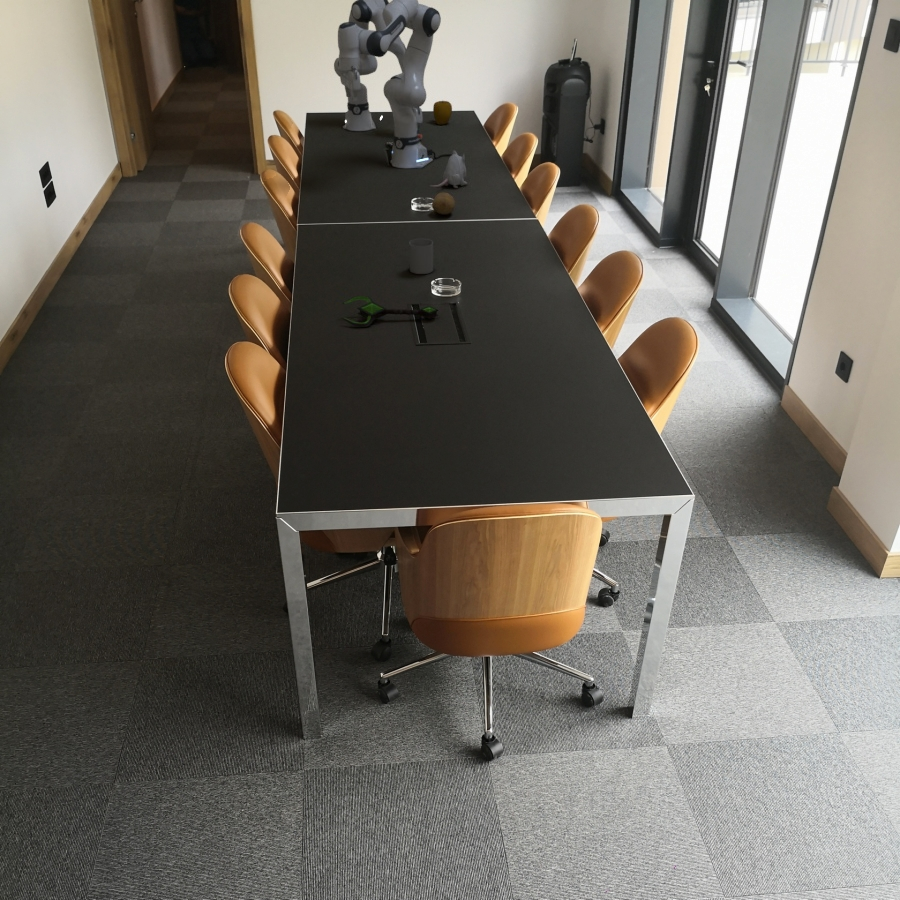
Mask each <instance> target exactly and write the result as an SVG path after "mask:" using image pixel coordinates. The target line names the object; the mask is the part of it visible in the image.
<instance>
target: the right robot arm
mask: <svg viewBox="0 0 900 900" xmlns="http://www.w3.org/2000/svg"><path fill="white" fill-rule="evenodd" d="M382 17H383V21H384V24H385V25H386V28H385V29H384V30H382V31H376V30H372V29H369V30H365V29H362V28H360V27H358V26H357V25H356V23H355V22H349V21H345V22H342V23H340V24H339V26H338V28H337V48H338V50H339V51H338V52H339V53H338V58H339V61H338V67H339V72H340V77H339V79H340V83H341V85H343V86H344V90H345V97H347V98H348V97H351V93H350V90H352V101H357V93H358V92H357V91H360V90H361V83H362V82H361V76H360V74H359V72H357V70H359V69H360V56H359V53H360V54H366V55H373V56H375V57H377V58H382V57H384V56H385V55H386V54H387V53H388V52H389V51H388V49H389V47H390V46H391V44H392V43H393V42H394V41H395V40H396V39H397V38H398V36H401V34H402V33H403V32H404V31H405V29H409V30H412V34H411V35H410V37H409V40H408V42H407V46H406V51H405V55H404V58H403V61H402V66H403V68H404V79H403V80H402V79H391V78H389V79H388V80H387V81H386V82H385V83H384V85H383V95H384V98H386V100H387V102H388V104H389V106H390V110H391V113H392V119H393V133H394V134H393V138H392V140H393V145H392V148H391V150H392V151H391V160H390V161H389V162H390V164H391V166H392V167H394V168H398V169H416V168H417V169H421V168H424V167H426V166H427V165H428V164H430V163H432V162H433V159H435V160H437V159H440V158H441V157H450V156H451V155H453V154H452V153H445V154H439V155H438V156H437V157H436V152H435V151H434V150H433V149H432V148H430V147H426V146H424V145H423V144H422V143H421V142H420V140H421V139H422V138H423V134H422V133H419V134H417V119H416V116H415V115H414V113H413V111H412V108H411V107H420V108H421V107H422V106H423V105H424V104H425V103H426V101H427V92H426V88H425V83H424V79H425V78H424V77H425V70H426V67H427V64H428V60H429V57H430V54H431V51H432V47H433V42H434V34H435V33H436V32H437V31H438V30H439V28H440V26H441V19H442V18H441V13H440V12H439V10H437V9H436V8H435V7H432V6H428V5H426V4H421V3H419V0H391V1H389V4H387V5H386V6H385V8H384V9H383V13H382ZM429 156H433V158H431V157H429Z"/></svg>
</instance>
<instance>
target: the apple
mask: <svg viewBox="0 0 900 900" xmlns="http://www.w3.org/2000/svg"><path fill="white" fill-rule="evenodd" d="M432 112H433V113H432V114H433V118H434V121H435V122H436V124H437V125H440V126H441V125H445V124H448V123H449V121H450V119H451V117H452V113H453V105H452V103H450V101H448V100H439V101H435V102H434V103H433V109H432Z"/></svg>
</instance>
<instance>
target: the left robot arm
mask: <svg viewBox="0 0 900 900" xmlns="http://www.w3.org/2000/svg"><path fill="white" fill-rule="evenodd" d="M389 3H390V1H389V0H355V1H353V3H352V4H351V9H350V12H349V16H348V22H355V23H356V25H357V26H358V27H360V28H362V29H365V30H370V29H369V28H370V22H371V23H372V24H373V25H374V28H375V31H382V30H384V29H385V28H386V25H385V24H384V21H383V17H382V13H383V9H384V8H385V6H386V5H387V4H389ZM406 48H407V46H406V45H405V43H404V42H403V40H402V37H401V35H399V36H398V38H397V39H396V40H395V41H394V42H393V43H392V44H391V46H390V47H389V49H388V51H387V52H389V53H391V54H393V55H394V56H395V57H396V59H397V61H398V64H399V67H400V70H401V73H398V74H395V75H393V76H391V77H390V79H402V80H403V79H404V68H403V66H402V61H403V58H404V55H405V51H406ZM359 56H360V69H359V70H357V72H359V74H360V77H361V76H367V75H368V76H369V75H371V74H373V73H375V72H376V71H377V69H378V59H377V58H376V56H373V55H366V54H360V53H359ZM338 61H339V57H336V58H335V60H334V62H333V70H334V73H335V74H336V75H337V76H338V77H339V78H340V72H339V67H338ZM357 92H358V93H357V101H352V90H350V93H351V97H347V103H346V104H347V105H346V106H347V107H346V108H347V111H346V112H345V117H344V119H345V120H344V123H345V125H342V129H344V130H347V131H352V132H366V131H371V130H376V127H377V126H376V124H375V122H374V120H373V118H372V113H371V111H370V105H369V101H368V99H369V98H368V88H367V86H366V85H365V84H364V83H362V82H361V90H360V91H357ZM411 108H412V111H413V113H414V115H415V116H416V119H417V130H418V124H419V125H422V124H423V123H424V122H423V121H424V120H423V119H424V118H423V109H422V108H421V106H420V107H411ZM382 119H383V115H381V116H380V118H379V120H380V121H381V120H382Z"/></svg>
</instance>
